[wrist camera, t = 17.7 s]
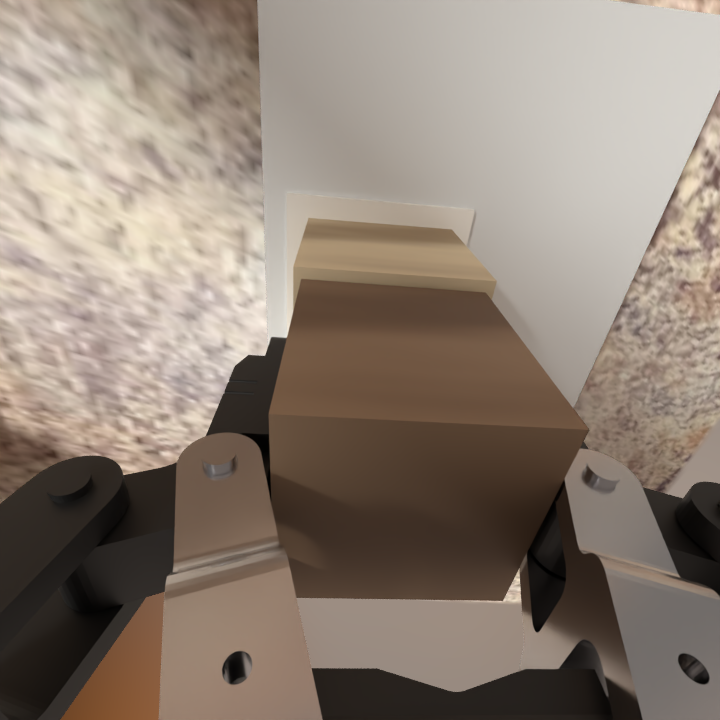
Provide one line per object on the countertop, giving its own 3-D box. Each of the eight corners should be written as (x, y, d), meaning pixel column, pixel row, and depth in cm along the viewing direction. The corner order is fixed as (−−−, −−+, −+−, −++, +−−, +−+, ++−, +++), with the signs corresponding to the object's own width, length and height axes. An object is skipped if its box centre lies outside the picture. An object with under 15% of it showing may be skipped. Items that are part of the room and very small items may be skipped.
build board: (263, -34, 12) (254, -50, 11) (719, 26, 13) (758, 18, 12) (274, 438, 21) (270, 458, 20) (537, 450, 22) (547, 470, 21)
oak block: (308, 217, 14) (293, 266, 10) (451, 229, 14) (496, 281, 10) (305, 344, 17) (293, 426, 12) (427, 351, 17) (455, 433, 13)
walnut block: (301, 278, 10) (268, 413, 5) (485, 292, 10) (589, 429, 6) (298, 424, 12) (274, 597, 8) (448, 431, 12) (502, 600, 8)
